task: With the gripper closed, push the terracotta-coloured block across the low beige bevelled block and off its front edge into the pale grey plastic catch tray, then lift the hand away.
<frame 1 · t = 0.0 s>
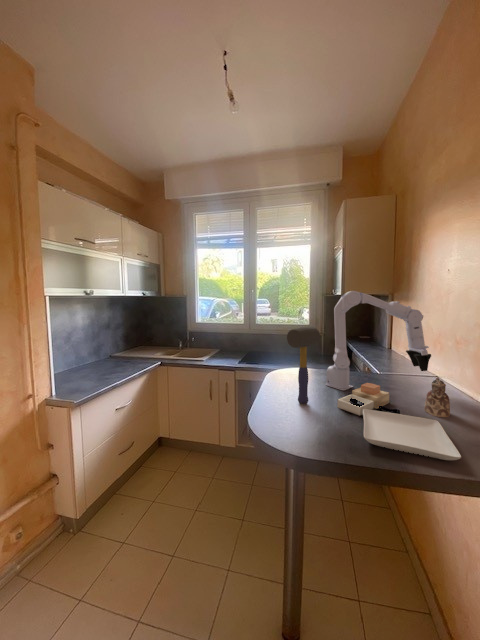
hand: (420, 368, 109), 11 cm above the breakfast bar, tool pointing down, fingers open, 7 cm apart
catch tray: (355, 408, 95), on the breakfast bar
beige bevelled block: (370, 401, 101), on the breakfast bar
terracotta-coloured block: (370, 391, 101), point 4 cm above the breakfast bar, touching beige bevelled block
rubber mallet: (303, 404, 99), on the breakfast bar
figurine: (436, 413, 90), on the breakfast bar
salad plate: (402, 439, 75), on the breakfast bar
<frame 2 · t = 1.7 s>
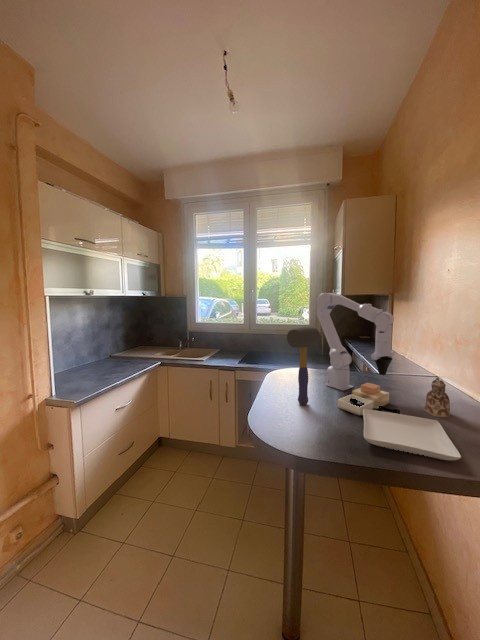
hand: (382, 374, 105), 9 cm above the breakfast bar, tool pointing down, fingers closed
nothing on the breakfast bar moved.
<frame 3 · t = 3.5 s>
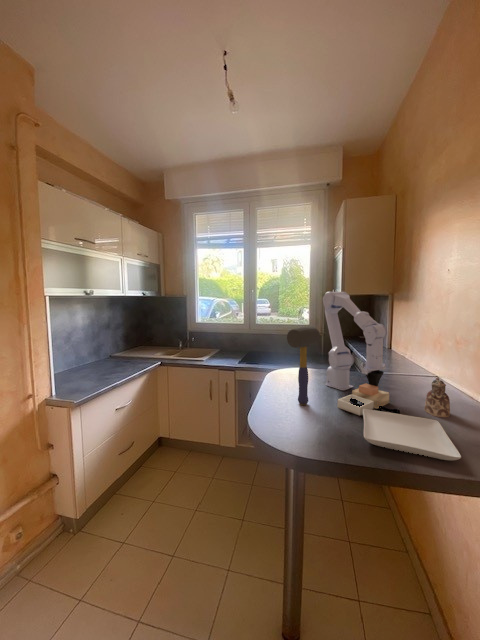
hand: (373, 388, 102), 5 cm above the breakfast bar, tool pointing down, fingers closed
terracotta-coloured block: (368, 392, 100), point 4 cm above the breakfast bar, touching gripper
everything else where it was.
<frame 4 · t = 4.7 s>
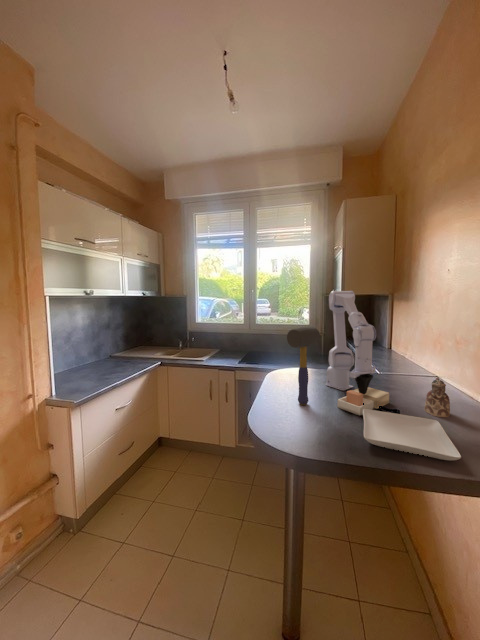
hand: (362, 393, 97), 5 cm above the breakfast bar, tool pointing down, fingers closed
terracotta-coloured block: (356, 398, 95), point 3 cm above the breakfast bar, tilted 92°, touching catch tray
everything else where it was.
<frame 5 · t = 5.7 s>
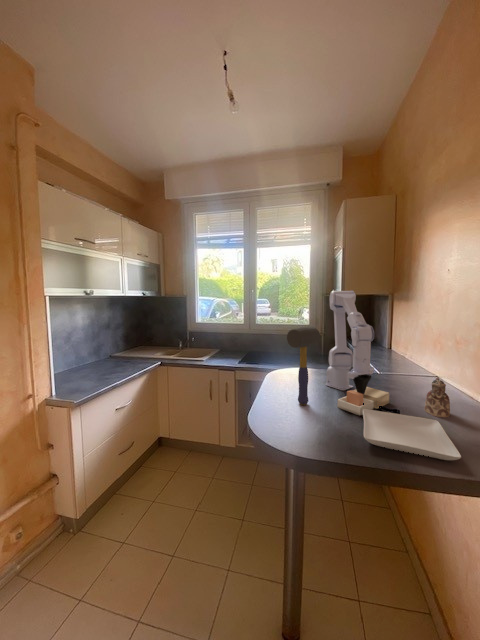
hand: (360, 393, 96), 5 cm above the breakfast bar, tool pointing down, fingers closed
nothing on the breakfast bar moved.
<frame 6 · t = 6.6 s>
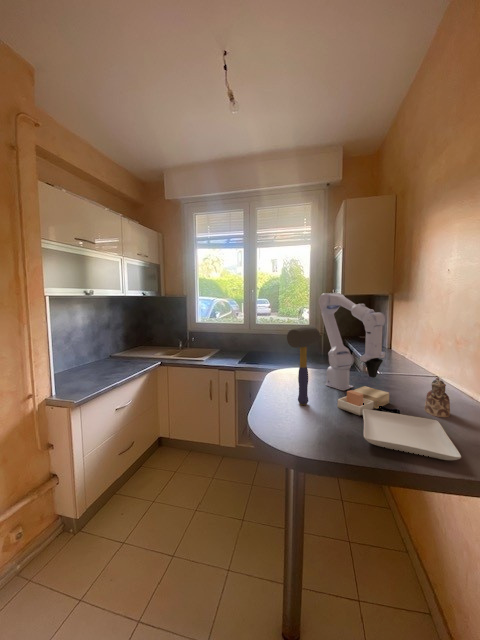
hand: (372, 376, 102), 9 cm above the breakfast bar, tool pointing down, fingers closed
nothing on the breakfast bar moved.
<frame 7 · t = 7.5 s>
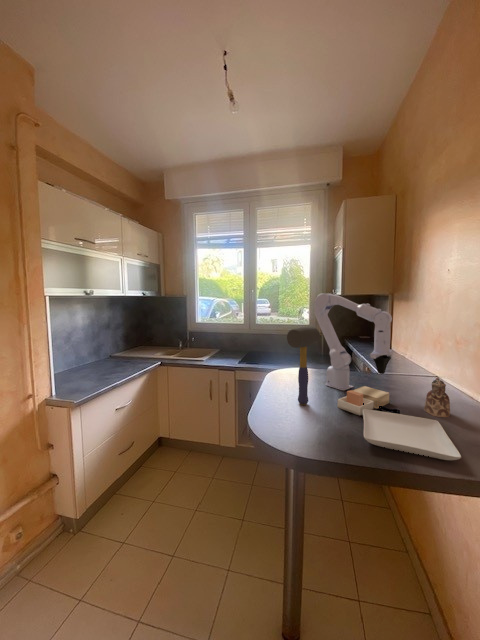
hand: (381, 373, 107), 9 cm above the breakfast bar, tool pointing down, fingers closed
nothing on the breakfast bar moved.
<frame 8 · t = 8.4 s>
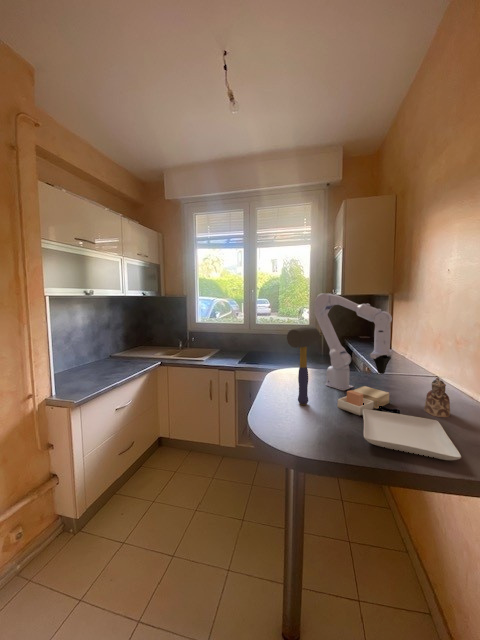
hand: (381, 373, 107), 9 cm above the breakfast bar, tool pointing down, fingers closed
nothing on the breakfast bar moved.
at the end: terracotta-coloured block inside the target area on the catch tray (1.4 cm from its centre), point 3.3 cm above the catch tray's base; terracotta-coloured block touching catch tray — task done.
